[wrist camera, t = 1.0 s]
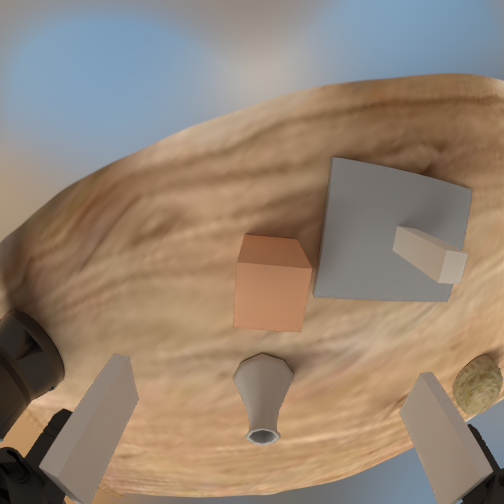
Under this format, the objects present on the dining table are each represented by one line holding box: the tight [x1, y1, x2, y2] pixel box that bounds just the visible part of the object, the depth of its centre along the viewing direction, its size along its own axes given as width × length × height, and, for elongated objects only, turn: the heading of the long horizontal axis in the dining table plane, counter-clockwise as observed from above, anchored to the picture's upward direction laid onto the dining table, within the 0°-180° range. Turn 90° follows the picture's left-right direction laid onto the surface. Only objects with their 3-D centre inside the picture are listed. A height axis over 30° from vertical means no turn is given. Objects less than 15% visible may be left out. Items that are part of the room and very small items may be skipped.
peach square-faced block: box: [233, 234, 312, 332], centre depth 24 cm, size 5×5×9 cm
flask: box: [233, 354, 294, 446], centre depth 28 cm, size 7×7×10 cm
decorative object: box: [453, 355, 503, 414], centre depth 30 cm, size 9×10×10 cm
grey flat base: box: [313, 157, 472, 302], centre depth 22 cm, size 18×14×10 cm
